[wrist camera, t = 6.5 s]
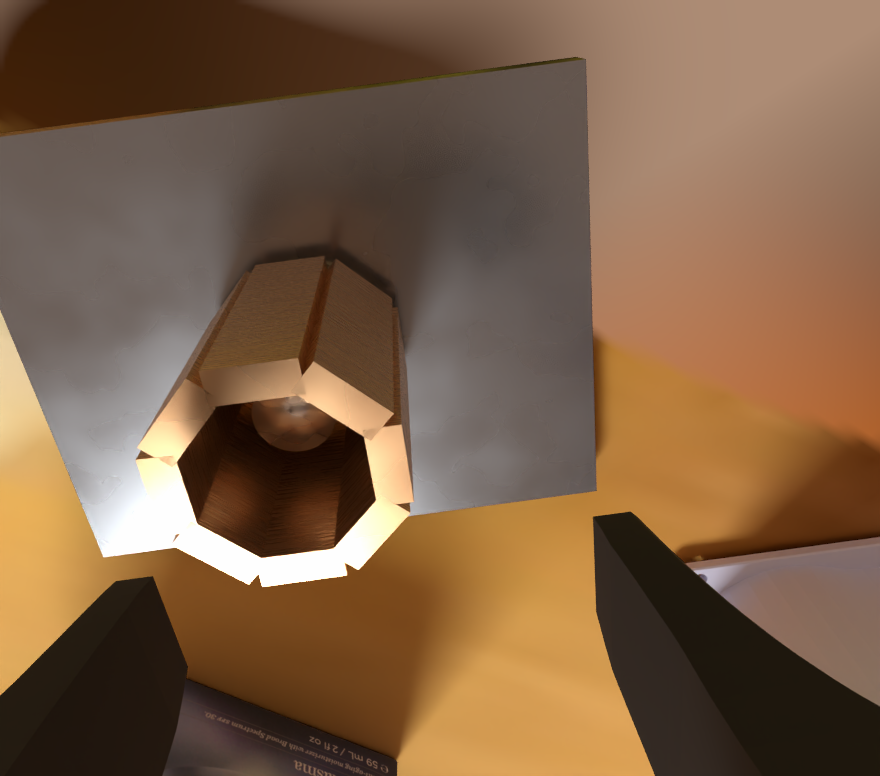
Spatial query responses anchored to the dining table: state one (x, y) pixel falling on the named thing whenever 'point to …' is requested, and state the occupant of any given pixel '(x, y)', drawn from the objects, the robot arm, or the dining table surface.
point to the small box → (259, 743)
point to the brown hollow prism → (276, 470)
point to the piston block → (336, 237)
